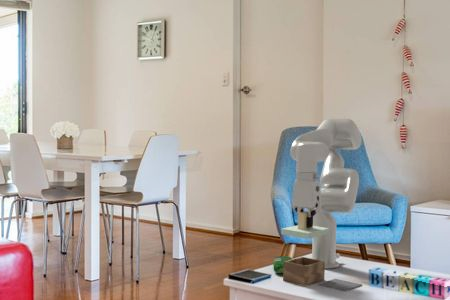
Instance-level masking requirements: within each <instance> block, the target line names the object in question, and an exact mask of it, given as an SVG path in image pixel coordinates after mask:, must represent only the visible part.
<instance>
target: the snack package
mask: <svg viewBox="0 0 450 300" xmlns="http://www.w3.org/2000/svg"><path fill="white" fill-rule="evenodd" d="M292 259H293V258H292V257H291V256H287V255H280V256H276V257H275V258H274V260H273V264H272V266H273V271H274V273H276V274H283V262H284V261H288V260H292Z"/></svg>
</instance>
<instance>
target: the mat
mask: <svg viewBox="0 0 450 300" xmlns="http://www.w3.org/2000/svg"><path fill="white" fill-rule="evenodd" d="M318 286H320V287H324V288H325V287H326V288H329V289H335V290H339V291H342V292H348V291H351V290H354V289H357V288H359V287H362V286H363V284H362V283H358V282H354V281H348V280H344V279H339V278H333V279H330V280H327V281H324V282H321V283H319V284H318Z"/></svg>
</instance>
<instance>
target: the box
mask: <svg viewBox="0 0 450 300" xmlns="http://www.w3.org/2000/svg"><path fill="white" fill-rule="evenodd" d="M325 270H326V268H325V261H321V260H316V259H312V257H310V258H309V257H305V256H300V257H296V258H292V260H288V261H284V262H283V273H282V281H283V282H287V283H291V284H295V285H300V286H304V287H308V286H311V285H315V284H317V283H320V282H323V281H325V272H326V271H325Z"/></svg>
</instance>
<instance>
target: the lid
mask: <svg viewBox="0 0 450 300" xmlns="http://www.w3.org/2000/svg"><path fill="white" fill-rule="evenodd" d="M307 217H308V210H306V211H305V210H304V212H299V213H298V215H297V225H293V226H287V227H283V228H280V234H281V235H284V236H291V237H296V238H300V239H301V238H302V239H306V240H309V239H313V238H314V237H318V236H322V235H326V234H329V228H324V227H318V226H312V227H310V228H307V227H306V219H307Z"/></svg>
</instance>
